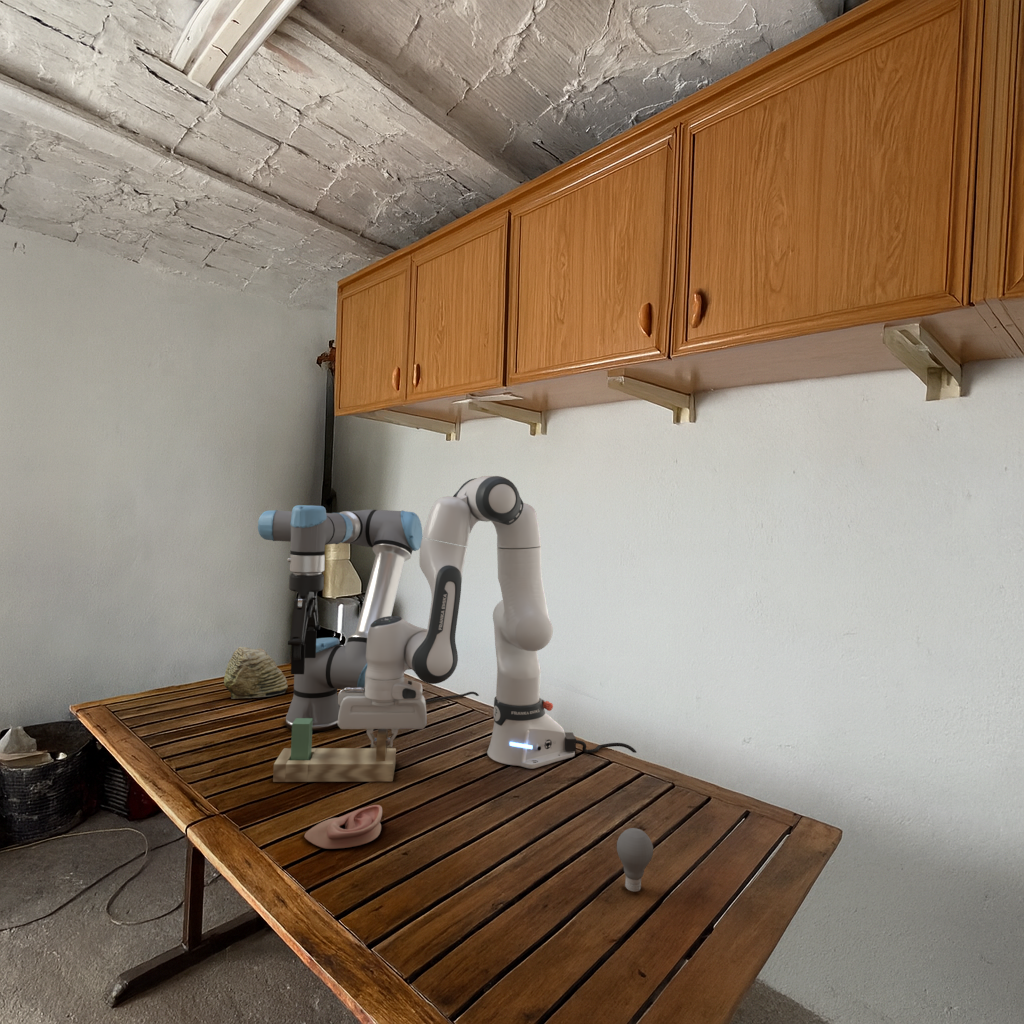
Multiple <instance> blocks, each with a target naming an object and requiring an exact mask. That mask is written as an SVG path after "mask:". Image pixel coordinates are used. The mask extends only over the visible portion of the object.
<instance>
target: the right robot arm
mask: <svg viewBox="0 0 1024 1024" xmlns="http://www.w3.org/2000/svg"><path fill="white" fill-rule="evenodd" d="M538 519H539V518H538V515H537V510H536V509H535V508H534V507H533V506H532V505H530V504H528V503H526V502H524V501H523V499H522V497H521V496H520V493H519V490H518V488H517V487H516V485H515V484H514V483H513V482H512V481H511V480H510V479H508V478H506V477H503V476H500V475H482V476H479V477H476V478H471V479H468V480H467V481H465V482H464V483H463V484H462V485H461V486H460V487H459V488H458V490H457V491H456V492H455V493H454V494H453V496H451V495H447V496H442V497H440V498H437V499H436V500H435V501H434V502H433V504H432V506H431V509H430V511H429V514H428V516H427V519H426V522H425V525H424V529H423V531H422V541H421V546H420V548H419V557H418V558H419V559H418V561H419V562H418V563H419V567H420V570H421V571H422V573H423V575H424V577H425V578H426V580H427V582H428V585H429V588H430V593H431V602H430V608H429V616H428V621H427V622H428V623H427V628H425V627H424V628H423V627H421V626H420V627H419V626H416V625H414V624H413V623H410V622H408V621H407V620H405V619H404V618H403V617H401V616H398V615H391V616H387V617H382V618H379V619H377V620H375V621H374V622H373V623H372V624H371V625H370V628H369V631H368V636H367V645H366V659H367V669H366V672H365V687H357V688H356V687H355V688H351V687H346V688H345V689H340V690H339V692H337V695H338V704H339V706H340V709H339V715H338V726H337V727H338V728H339V729H340V730H366V736H367V737H368V739H369V741H370V748H376V746H377V737H375V735H374V730H378V729H388V730H391V736H390V737H388V738H387V740H386V748H394V747H393V746H394V741H395V739H396V737H397V735H398V733H399V730H423V729H425V728H426V727H427V724H428V721H427V720H428V712H427V711H428V710H427V703H426V702H425V700H426V697H425V696H424V695H423V691H424V689H423V684H422V683H421V682H419V681H416V680H413V679H411V678H407V677H405V673H406V671H407V670H412V671H413V672H414V674H415V675H416V676H417V678H418V679H419V680H421V681H422V682H424V683H426V684H428V685H429V684H430V685H436V684H441V683H443V682H445V681H447V680H449V678H450V677H451V676H452V675H453V674H454V672H455V671H456V669H457V666H458V662H459V659H458V658H459V655H458V650H457V644H456V633H457V624H458V617H459V610H460V603H461V594H462V583H463V572H464V566H465V560H466V556H467V550H468V546H469V540H470V535H471V532H472V530H473V529H474V527H475V525H476V524H477V523H478V522H486V523H488V522H491V523H492V524H493V526H494V529H495V532H496V551H497V552H496V555H497V558H496V559H497V579H498V583H499V587H500V591H501V597H502V600H500V601H498V603H496V605H495V606H494V609H493V611H492V621H493V630H494V646H495V657H496V691H495V697H494V700H493V713H492V714H493V727H492V732H491V737H490V742H489V744H488V745H489V746H488V748H487V751H486V754H487V756H488V757H489V758H490V759H491V760H492V761H494V762H496V763H499V764H504V765H508V766H509V765H510V766H515V767H516V766H518V767H522V768H526V769H530V770H531V769H537V768H540V767H541V768H542V767H544V766H547V765H550V764H554V763H556V762H560V761H563V760H567V759H570V758H573V757H575V756H576V753H575V752H576V751H577V745H581V746H582V752H583V753H585V754H593V753H597V752H599V751H600V749H605V748H613V747H621V748H626V749H628V750H629V751H630V752H632V753H633V754H634V753H635V754H636V753H637V750H636V749H635V748H634V747H632V746H631V745H630V744H627V743H623V742H609V743H603V744H602V743H601V744H598V745H596V747H595V748H591V749H587V744H586V742H584V741H583V740H581V739H577V738H576V736H575V734H574V732H572V731H571V732H567V731H566V732H565V730H564V728H563V727H562V726H561V724H560V723H558V722H557V721H556V720H555V719H554V718H553V717H551V716H550V715H549V714H548V713H546V710H547V711H548V712H551V711H552V710H553V709H554V704H553V703H552V702H550V701H548V700H546V701H545V700H544V699H542V698H541V697H540V696H541V672H542V670H541V664H540V660H539V655H538V651H540V650H543V649H544V648H546V647H547V646H548V645H549V643H550V642H551V640H552V638H553V632H554V627H553V623H552V622H551V621H552V620H551V619H550V614H549V610H548V602H547V598H546V592H545V587H544V582H543V573H542V572H543V571H542V570H543V569H542V545H541V543H542V540H541V531H540V524H539V520H538Z"/></svg>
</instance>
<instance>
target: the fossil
mask: <svg viewBox="0 0 1024 1024" xmlns="http://www.w3.org/2000/svg"><path fill="white" fill-rule="evenodd" d="M231 655H232V656H231V658H230V659H229V661H228V663H227V666H226V669H225V673H224V677H223V678H224V679H223V686H224V687H225V688H226V689H227V691H228V692H229V693H230V696H231V697H230V698H231V699H233V700H234V699H235V700H236V699H237V700H238V699H252V698H253V699H255V698H258V699H259V698H266V697H273V696H274V697H275V696H277V695H282V694H285V693H286V691H287V690H288V687H289V685H288V680H287V678H286V676H285V674H284V673H283V671H282V669H280V668H279V667H278V666H277V663H276V661H274V659H273V658H272V657H271V656H270V655H269V654H268V653H267V651H265V649H263V648H255V649H254V648H251V647H247V646H239V647H238V648H237V649H236V650H235V651H233V654H231Z"/></svg>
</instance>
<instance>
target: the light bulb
mask: <svg viewBox="0 0 1024 1024" xmlns="http://www.w3.org/2000/svg"><path fill="white" fill-rule="evenodd" d="M616 852H617V856H618V858H619V860H620V862H621V864H622V866H623V872H624V875H625V882H624V887H625V889H627V890H628V891H630V892H633V893H634V892H635V893H636V892H639V891H641V889H642V878H643V876H644V875H645V869H646V868H647V867H648V865H649V864H650V862H651V860H652V858H653V855H654V845H653V842H652V840H651V838H650V836H649V835H648V834H647V832H645V831H644V830H642V829H640V828H636V827H629V828H627V829H625V830H624V831H623V832H622V833H620V835H619V836H618V839H617V841H616Z"/></svg>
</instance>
